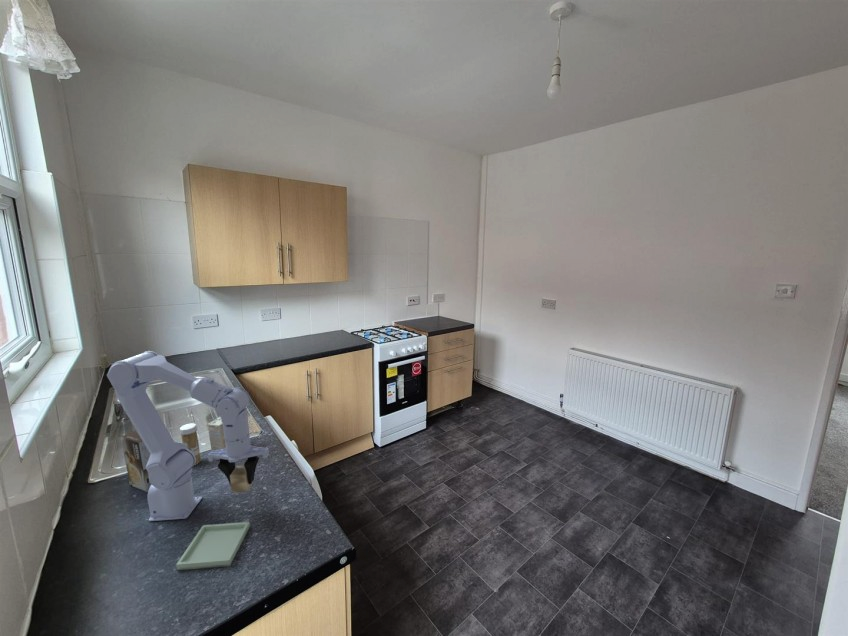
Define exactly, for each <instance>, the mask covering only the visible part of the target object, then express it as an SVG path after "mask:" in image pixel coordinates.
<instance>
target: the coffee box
mask: <svg viewBox="0 0 848 636" xmlns="http://www.w3.org/2000/svg"><path fill="white" fill-rule="evenodd" d="M120 440H121V445H122V452H123V455H124V457H123V458H124V461H125V466H126V473H127V477H128V482H129V486H131V485H132V487H134V488H136V489H139V490H141V491H144V492H146V493H148V491H149V488H150V486H151V485H152V484H151V483H150V481H149V474H148V471H147V470H146V465H147V462H148V460H149V458H150V453H149V451H148V449H147V447H146V446H145V444H144V442H143V441H142V439H141V437H140V436H139V434H138V432H137V431H136V429H135V430H133V431H130V432H127V433H126V434H124V435H122V436H120Z"/></svg>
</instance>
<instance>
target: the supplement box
mask: <svg viewBox="0 0 848 636" xmlns="http://www.w3.org/2000/svg"><path fill="white" fill-rule="evenodd" d="M207 429H208V435H209V442H210V449H211V451H214V450H221V449H225V448H226V447H225V438H224V430H223V423H222V421H221V417H220V416H219V417H217V418H215V419H214V420H212V421H210V422H208V423H207ZM211 451H210V452H211Z"/></svg>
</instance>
